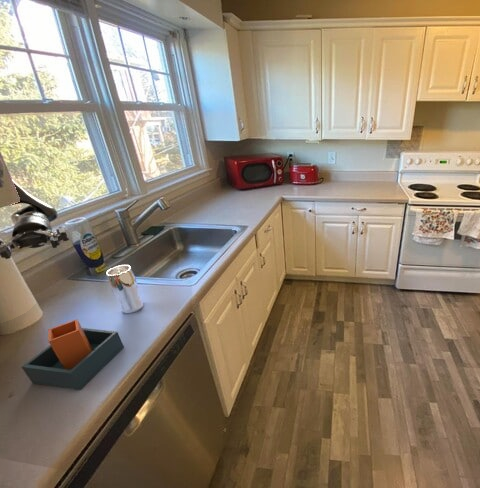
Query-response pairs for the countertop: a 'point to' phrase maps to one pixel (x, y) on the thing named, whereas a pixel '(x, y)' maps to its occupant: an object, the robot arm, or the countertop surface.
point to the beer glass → (125, 287)
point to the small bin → (69, 343)
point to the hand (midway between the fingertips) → (30, 249)
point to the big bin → (53, 373)
